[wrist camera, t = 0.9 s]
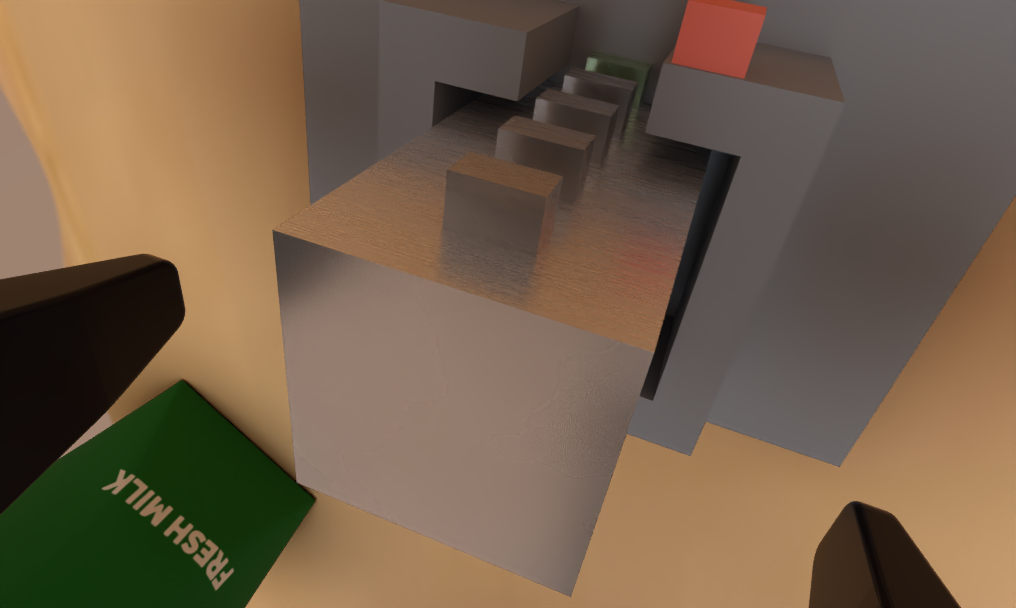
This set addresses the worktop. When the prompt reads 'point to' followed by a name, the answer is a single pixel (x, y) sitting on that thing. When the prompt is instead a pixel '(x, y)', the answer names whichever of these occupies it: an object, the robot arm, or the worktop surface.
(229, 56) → the worktop surface
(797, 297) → the stand
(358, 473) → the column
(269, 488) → the milk carton
